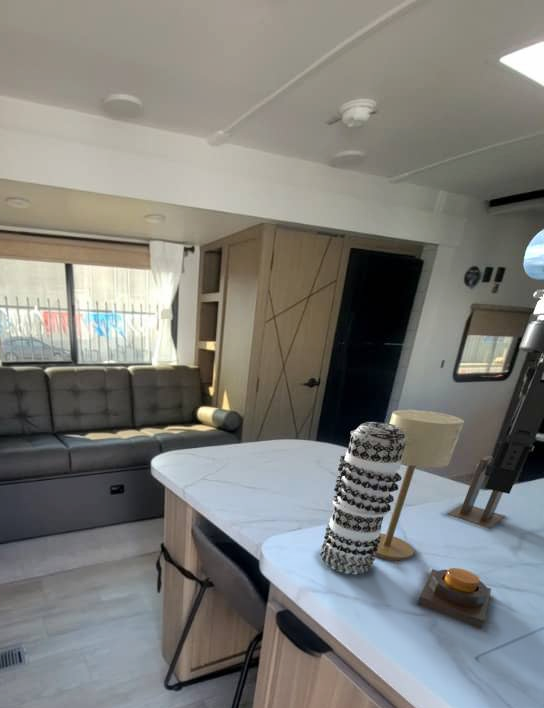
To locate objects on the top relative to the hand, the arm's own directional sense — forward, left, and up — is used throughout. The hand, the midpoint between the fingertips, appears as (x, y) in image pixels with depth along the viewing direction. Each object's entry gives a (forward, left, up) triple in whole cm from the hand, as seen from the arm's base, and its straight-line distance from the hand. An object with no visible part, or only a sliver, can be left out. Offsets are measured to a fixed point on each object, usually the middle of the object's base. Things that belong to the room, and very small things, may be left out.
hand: (499, 478), depth 60 cm
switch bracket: (-12, -29, -19) cm, 36 cm away
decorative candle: (+18, +1, -19) cm, 26 cm away
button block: (+3, +7, -19) cm, 20 cm away
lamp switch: (-15, -33, -6) cm, 36 cm away
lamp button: (+3, +7, -15) cm, 17 cm away
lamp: (+10, -7, -19) cm, 22 cm away
